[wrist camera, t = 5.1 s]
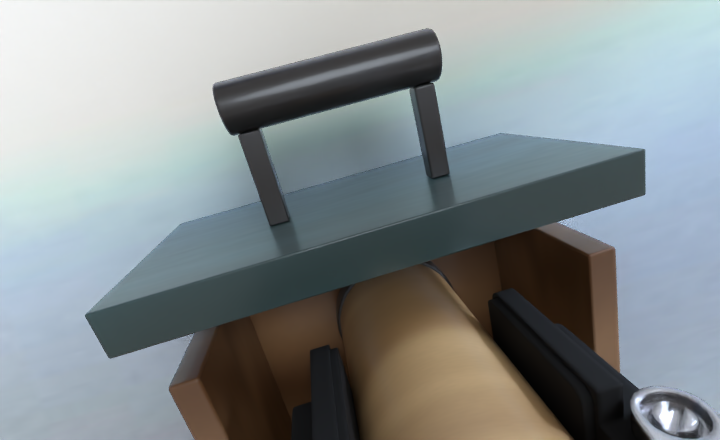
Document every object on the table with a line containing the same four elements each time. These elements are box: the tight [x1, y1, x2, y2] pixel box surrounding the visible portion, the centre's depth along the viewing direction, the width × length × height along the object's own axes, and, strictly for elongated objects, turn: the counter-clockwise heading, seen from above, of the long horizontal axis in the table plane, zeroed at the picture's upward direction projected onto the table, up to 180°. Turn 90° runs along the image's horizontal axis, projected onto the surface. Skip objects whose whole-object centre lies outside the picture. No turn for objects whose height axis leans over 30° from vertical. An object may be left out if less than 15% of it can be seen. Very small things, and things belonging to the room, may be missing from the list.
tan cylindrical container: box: [336, 261, 574, 440], centre depth 10 cm, size 5×5×10 cm
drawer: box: [85, 28, 645, 440], centre depth 13 cm, size 19×13×7 cm
